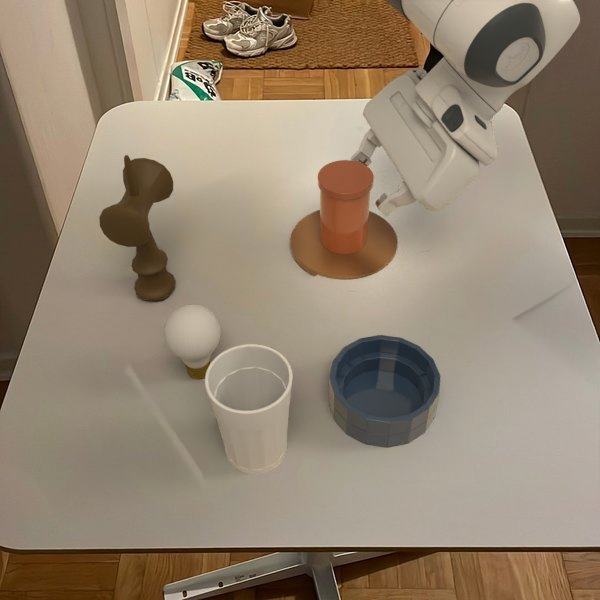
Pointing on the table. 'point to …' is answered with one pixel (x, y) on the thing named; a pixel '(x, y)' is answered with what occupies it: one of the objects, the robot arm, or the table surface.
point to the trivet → (343, 265)
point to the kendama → (141, 225)
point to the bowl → (383, 390)
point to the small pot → (344, 205)
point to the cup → (251, 405)
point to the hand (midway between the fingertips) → (367, 187)
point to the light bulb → (193, 337)
